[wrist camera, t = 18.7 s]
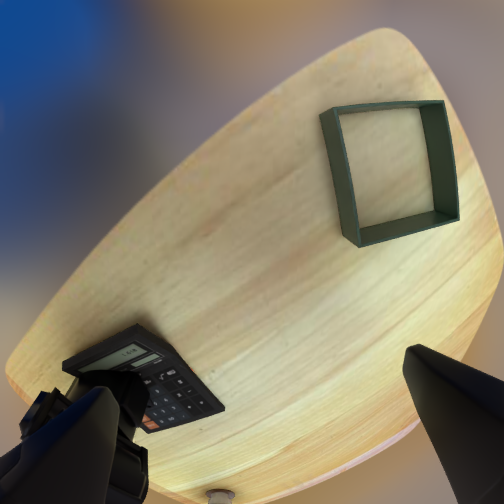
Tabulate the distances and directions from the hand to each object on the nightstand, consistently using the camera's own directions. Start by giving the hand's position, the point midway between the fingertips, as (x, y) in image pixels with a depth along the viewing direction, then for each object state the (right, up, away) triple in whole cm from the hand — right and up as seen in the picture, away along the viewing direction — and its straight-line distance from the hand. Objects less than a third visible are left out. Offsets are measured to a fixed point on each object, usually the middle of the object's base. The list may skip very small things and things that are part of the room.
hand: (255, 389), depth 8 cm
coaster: (-4, -30, +23) cm, 37 cm away
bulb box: (+9, +10, +11) cm, 17 cm away
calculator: (-9, -7, +16) cm, 20 cm away
